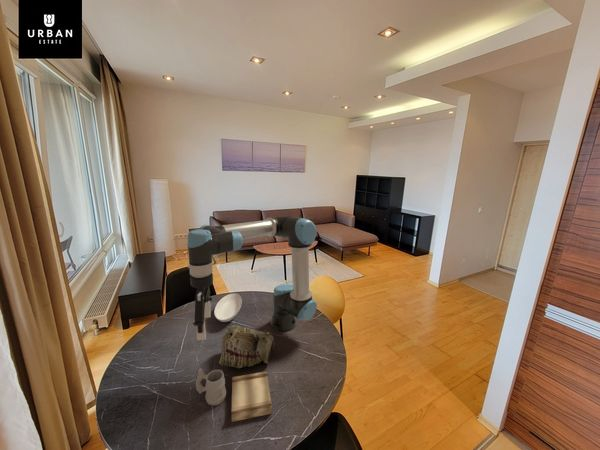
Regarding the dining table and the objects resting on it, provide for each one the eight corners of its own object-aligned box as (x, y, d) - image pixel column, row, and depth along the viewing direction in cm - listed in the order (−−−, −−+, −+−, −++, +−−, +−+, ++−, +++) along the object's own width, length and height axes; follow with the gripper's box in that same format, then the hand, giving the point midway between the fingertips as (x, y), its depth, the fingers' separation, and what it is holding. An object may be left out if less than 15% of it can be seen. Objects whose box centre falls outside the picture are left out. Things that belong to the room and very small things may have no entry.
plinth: (266, 378, 104) (266, 370, 103) (271, 413, 89) (271, 404, 88) (232, 384, 101) (232, 376, 100) (231, 422, 86) (231, 412, 85)
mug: (221, 407, 91) (220, 380, 88) (191, 403, 92) (189, 376, 89) (229, 390, 98) (228, 364, 96) (201, 386, 99) (199, 361, 97)
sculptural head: (277, 321, 124) (228, 313, 124) (273, 341, 102) (214, 332, 102) (272, 354, 124) (223, 347, 124) (267, 381, 103) (208, 373, 103)
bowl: (236, 329, 136) (236, 319, 135) (209, 329, 135) (208, 319, 134) (245, 301, 165) (245, 293, 164) (222, 301, 164) (222, 293, 163)
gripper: (196, 261, 97) (199, 310, 102) (181, 290, 74) (185, 352, 78) (216, 261, 99) (218, 308, 103) (207, 288, 75) (210, 349, 80)
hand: (204, 327), depth 91 cm, fingers open, 13 cm apart
